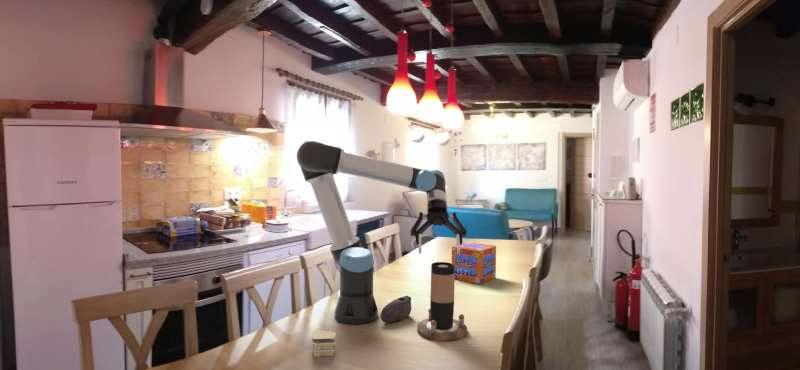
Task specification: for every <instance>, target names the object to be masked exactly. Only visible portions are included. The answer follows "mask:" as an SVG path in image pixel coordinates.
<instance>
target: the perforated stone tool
mask: <svg viewBox="0 0 800 370" xmlns="http://www.w3.org/2000/svg"><path fill="white" fill-rule="evenodd" d="M411 297H412V296H409V295H404V296H401V297H399V298H398V297H397V298H395V299H394V300H391V301H390V302H389V303H388V304H386V305H385V306H384V307H383V308H382V309H381V313H380V321H382V323H385V324H386V323H387V324H388V323H389V324H390V323H393V322H396V321H400V320H402V319H404V318H407V316H410V315H411V312H412V309H413V308H412V307H413V305H412V298H411Z"/></svg>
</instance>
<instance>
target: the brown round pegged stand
mask: <svg viewBox="0 0 800 370" xmlns="http://www.w3.org/2000/svg"><path fill="white" fill-rule="evenodd" d="M427 312H428V318H425V319H423V320H421V321H419V322H418V323H417V326H416V327H417V328H416V331H417V332H416V333H418V335H419V336H420V337H422V338H425V339H426V340H429V341H434V342H442V343H443V342H444V343H445V342H455V341H458V340H462V339H464V338H465V337H466V336H467V335H468V328H467V325H466V324H465V315H464V314H463V313H461V314H459V315H458V320H457V319H454V318H453V327H452V328H451V329H448V330H438V329H436V324H437V322H436V321H435V320H432V321H431V307H429V309H428V311H427Z"/></svg>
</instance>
